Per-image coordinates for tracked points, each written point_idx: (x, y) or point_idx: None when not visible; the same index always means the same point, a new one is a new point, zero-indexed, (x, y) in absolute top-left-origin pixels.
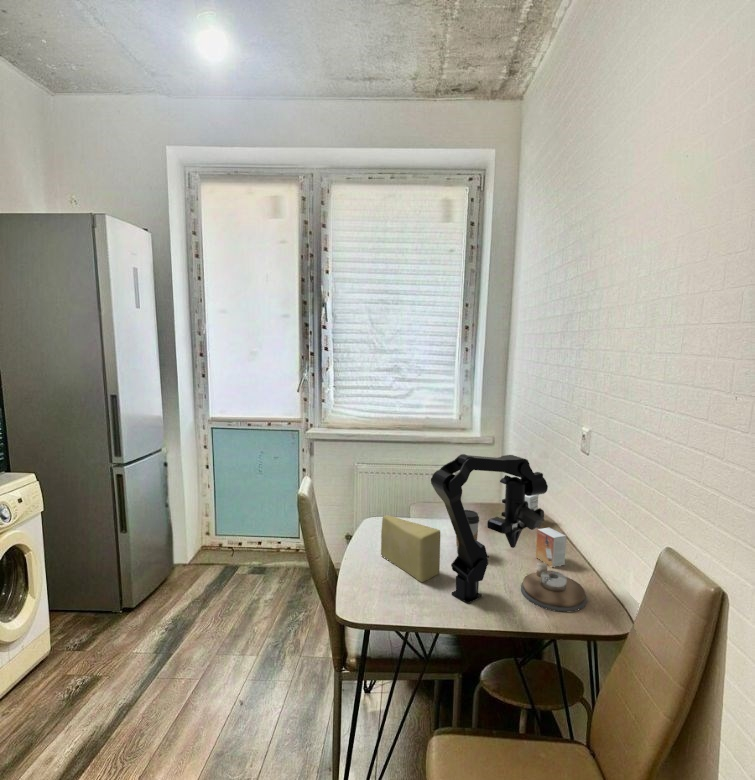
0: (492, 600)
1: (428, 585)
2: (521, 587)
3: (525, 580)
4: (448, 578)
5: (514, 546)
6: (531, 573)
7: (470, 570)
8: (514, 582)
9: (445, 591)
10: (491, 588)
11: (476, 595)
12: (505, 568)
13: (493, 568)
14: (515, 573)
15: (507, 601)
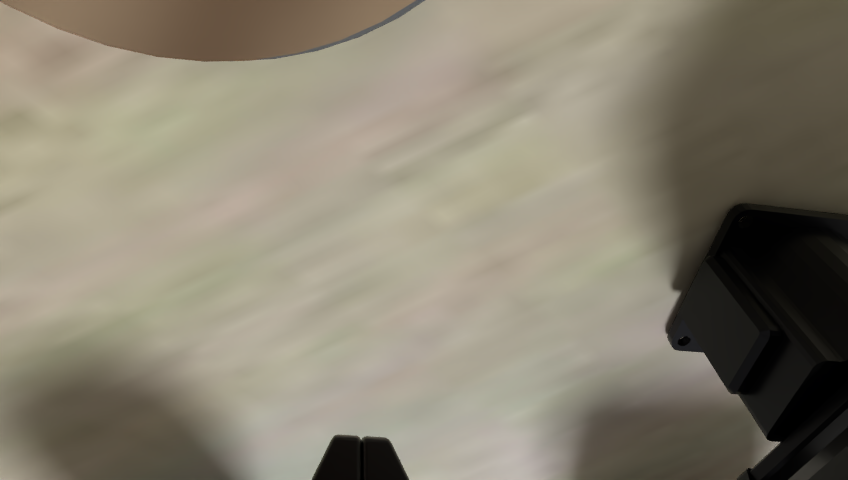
0: (743, 119)
1: None
2: (402, 10)
3: (327, 13)
4: (601, 452)
5: (359, 452)
6: (92, 38)
7: (831, 434)
8: (296, 129)
9: None
10: (550, 217)
11: (785, 234)
12: (124, 299)
13: (219, 356)
14: (123, 202)
15: (692, 10)
